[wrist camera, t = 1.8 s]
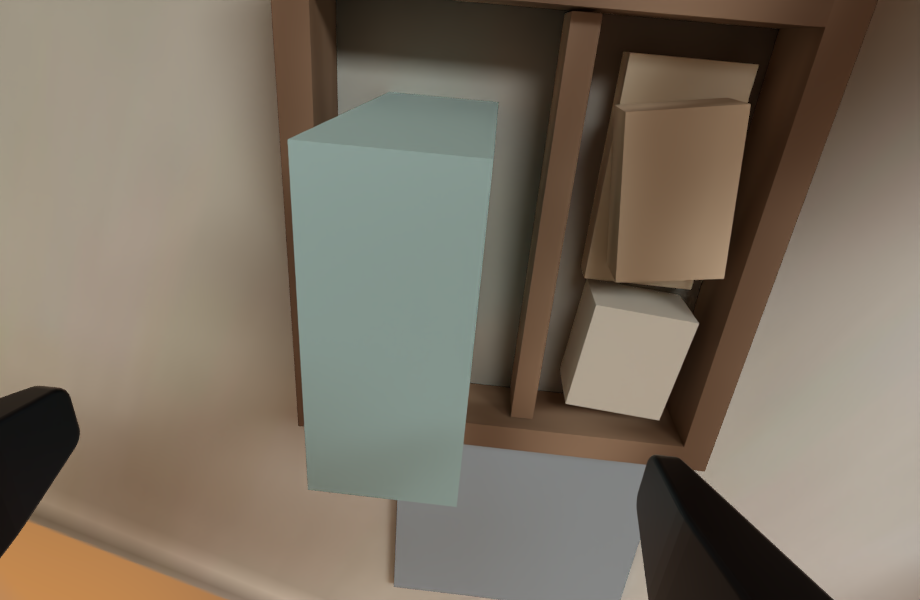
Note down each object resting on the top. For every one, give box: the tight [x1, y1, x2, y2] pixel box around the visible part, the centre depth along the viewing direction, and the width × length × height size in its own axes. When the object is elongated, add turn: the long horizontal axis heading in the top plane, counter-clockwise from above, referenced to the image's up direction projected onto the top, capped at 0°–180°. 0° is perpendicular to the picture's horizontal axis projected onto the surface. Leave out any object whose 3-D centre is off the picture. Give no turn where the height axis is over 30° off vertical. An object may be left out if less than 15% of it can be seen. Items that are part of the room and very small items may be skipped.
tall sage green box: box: [288, 92, 499, 507], centre depth 15 cm, size 4×8×9 cm, turn 175°
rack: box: [271, 0, 878, 471], centre depth 18 cm, size 15×15×2 cm
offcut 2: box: [607, 98, 751, 283], centre depth 16 cm, size 3×5×2 cm, turn 4°
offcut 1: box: [581, 52, 759, 290], centre depth 18 cm, size 4×7×2 cm, turn 175°
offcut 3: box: [560, 278, 699, 420], centre depth 19 cm, size 3×4×2 cm
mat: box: [394, 444, 646, 600], centre depth 24 cm, size 11×11×1 cm
